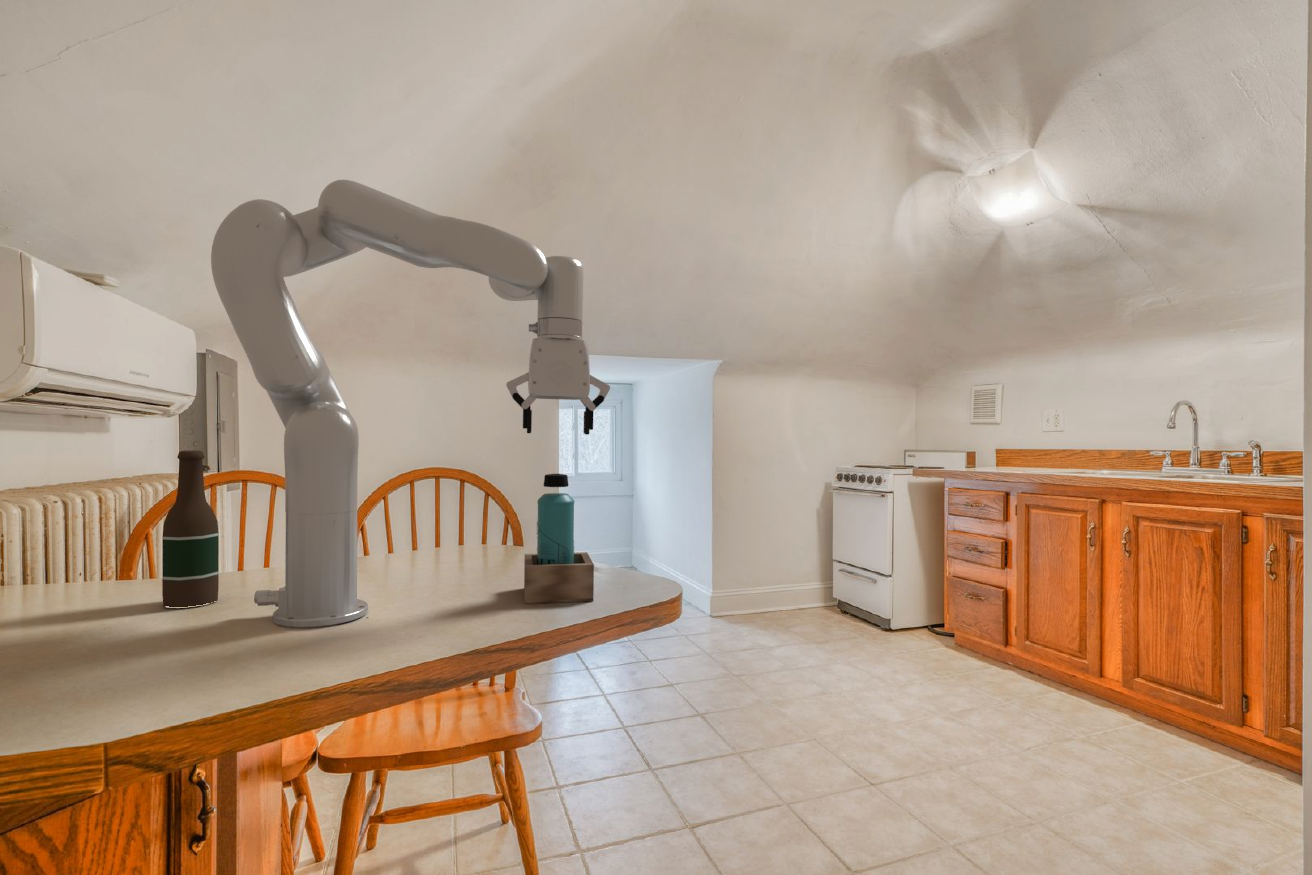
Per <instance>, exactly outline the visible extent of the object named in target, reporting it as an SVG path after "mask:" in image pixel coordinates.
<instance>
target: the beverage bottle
mask: <svg viewBox="0 0 1312 875" xmlns="http://www.w3.org/2000/svg"><path fill="white" fill-rule="evenodd" d="M543 487H546V488H566V487H569V477H568V475H567V474H564V473H547V474H544V478H543ZM536 518H537V521H536V527H537V530H536V535H537V536H536V539H537V545H536V546H537V547H536V550H535V552H537V553H536V554H537V561H536V565H548V564H574V560H575V559H574V556H575V555H574V553H576V551H575V540H574V538H575V536H574V534H575V533H574V532H575V530H574V528H575V522H574V520H575V499H574V498H573V497H572V496H571V495H570V494H569V493H563V492H552V493H551V492H549V493H544V494H542V495H540V497H539V498H538V500H537V517H536Z"/></svg>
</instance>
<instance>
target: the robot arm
mask: <svg viewBox="0 0 1312 875" xmlns="http://www.w3.org/2000/svg"><path fill="white" fill-rule="evenodd" d="M365 248H368V249H371V250H373V251H377V252H379V253H382V254H385V255H387V256H390V257H392V258H395V259H397V260H400V261H403V262H405V263H409V264H411V265H413V266H415V267H419V268H423V269H425V268H426V269H443V268H452V269H453V268H455V269H461V270H467V271H470V272H475V273H477V274H480V275H484V276H485V277H488V282H489V284H488V285H489V287H490V289H491V290H492V291H493V293H494V294H495V295H496V296H498V297H499V298H501V299H503V300H506V301H511V302H523V301H525V302H526V301H537V321H536V322H535V323H528V333H532V334H535V335H536V337H534V338H532V342H531V346H530V353H529V362H528V372H526V373H524V374H522V375H519V376H518V377H516V378H513V379H511V380H509V381H508V382H506V388H507V390H508V391H509V394H510V395H511V397H512V399H513V401H515V403H517V405H518V406H519V407H520V408H521V409H522V429H525V430H526V434H532V424H533V423H532V421H533V420H532V417H533V412H532V411H533V410H532V409H531V406H532V404H533V403H534V402H535V401H536V400H537V399H539V400H540V399H541V400H565V401H566V400H567V401H569V400H571V401H573V400H575V401H577V400H579V401H580V403H582V404H583V406H584V407H585V408H584V409H585V410H584V412H583V434H584V435H590V431H593V430H594V411H595V410H596V409H597V408H598V407H599V406H600V405H601V404H602V403H603V402H604V401H605V399H606V397H607V395H608V394H609V392H610V389H611V386H610V385H609V384H608V383H606V382H604V381H603V380H600V379H598V378H596V377H595V376H593V375H591V373H590V354H589V348H588V346H589V345H588V341H587V340H584V339H583V309H584V308H583V306H584V305H583V303H584V302H583V299H584V267H583V264H582V263H581V261H580V260H578V259H576V258H574V257H569V256H564V255H553V256H552V255H551V256H546V257H545V254H544V253H543V252H542V251H541V250H540V249H539V247H537V246H535V245H534V244H532V243H531V242H529V241H527V240H525V239H523V238H521V237H519V236H516V235H514V234H511V233H509V232H507V231H504V230H502V229H499V228H496V227H494V226H491V225H487V224H484V223H480V222H477V221H476V222H475V221H472V220H471V221H470V220H465V219H461V218H456V217H454V216H453V217H452V216H449V215H448V216H447V215H446V216H445V215H443V214H442V215H441V214H438V213H435V212H431V211H429V210H428V209H424V208H422V207H419V206H416V205H414V204H412V203H409V202H407V201H405V200H402V199H400V198H397V197H396V196H395V197H394V196H392V195H390V194H387V193H385V192H382V191H380V190H378V189H375V188H373V187H370V186H367V185H365V184H362V183H360V182H357V181H354V180H349V179H337V180H334V181H332V182H330V183H328V184H327V185H326V186H325V187H324V188H323V190H322V192H321V193H320V195H319V199H318V201H317V206H316V207H314V208H312V209H308V210H305V211H303V212H299V213H296V214H293V213H291V212H290V211H289V210H288V209H287V208H286V207H284V206H283V205H281V204H280V203H278V202H275V201H271V200H267V199H258V198H257V199H252V200H248V201H245V202H243V203H242V204H239V205H238V206H237V207H235V208H234V209H232V210H231V211H230V212H229V213H228V214H227V215H226V217H225V218H224V219H223V220H222V222H220V225H219V226H218V228H217V230H216V233H215V234H214V237H213V241H212V246H211V253H210V254H211V255H210V265H211V267H210V268H211V274H212V278H213V282H214V286H215V288H216V291H217V294H218V296H219V298H220V300H221V303H222V305H223V308H224V309H225V312H226V314H227V316H228V318H229V320H230V322H231V325H232V327H233V329H234V331H235V332H234V333H235V334H236V336H237V338H238V340H239V342H240V345H241V346H242V348H243V351H244V352H245V353H244V354H245V355H246V357H247V359H248V362H249V364H250V366H251V369H252V372H253V375H254V377H255V379H256V381H257V382H258V384H259V385H260V386H261V387H262V388H263V390H265V391H266V393H267V395H268V396H269V398H270V400H271V403H272V405H273V407H274V409H275V411H276V412H277V414H278V417H279V419H280V420H281V422H282V425H283V427H284V428H285V429H284V435H283V456H284V457H283V460H284V479H285V480H284V484H285V485H284V487H285V488H284V489H285V492H284V495H285V496H284V500H285V501H284V505H285V506H284V507H285V509H284V510H285V558H284V559H285V561H284V562H285V566H284V567H285V570H284V571H285V572H284V573H285V580H284V582H285V585H284V586H283V587H279V589H277V590H276V589H275V590H271V589H261V590H260V589H259V590H255V592H254V594H253V595H254V596H253V597H254V598H253V602H254V604H256V605H257V606H259V607H262V606H263V607H265V606H275V607H276V608H277V609H275V610H274V612H272V621H273V623H275V624H276V625H278V624H279V625H278V626H283V627H287V628H288V627H289V628H318V627H326V626H334V625H337V624H343V623H347V622H351V621H355V620H358V619H359V618H362V617H363V616H364V617H365V615H366V614H367V613H368V612H369V604H368V602H366V601H365V600H362V599H359V598H358V469H359V465H358V464H359V460H358V459H359V445H360V444H359V437H360V436H359V428H358V426H357V425H358V424H357V423H356V420H355V419H354V417H353V415H351V413H350V411H349V408H348V406H347V404H346V402H345V400H344V398H343V396H342V394H341V392H340V389H339V387H338V385H337V383H336V382H335V379H334V377H333V375H332V372H331V370H330V368H329V367H328V364H327V362H326V359H325V358H324V355H323V353H322V352H321V350H320V348H318V346H317V345H316V344H315V343H314V341H313V339H312V337H311V335H310V334H309V332H308V330H307V328H306V326H305V324H304V322H303V319H302V317H301V315H300V313H299V312H298V309H297V307H296V304H295V302H294V300H293V298H292V295H291V293H290V291H289V289H288V287H287V284H286V281H285V278H286V277H287V278H288V277H292V276H296V275H299V274H302V273H305V272H307V271H311V270H313V269H315V268H319V267H322V266H325V265H327V264H330V263H332V262H335V261H338V260H339V261H340V260H341V259H343V258H344V259H345V258H346V257H349V256H352V255H354V254H356V253H358V252H360V251H363V250H365ZM525 383H527V387H528V388H527V390H528V394H529V395H528V396H527V397H526V398H525V399H524V397H522V395H521V394H519V391H518V390H517V387H518V386H521V385H523V384H525ZM591 385H592V386H593V387H595V388H597V389H598V390H599V392H598V395H597V396H596V397H595V398H594V399H593V400H592V399H591V398H590V397H589V396H590V390H591V388H590V387H591Z"/></svg>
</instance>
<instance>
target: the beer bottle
mask: <svg viewBox="0 0 1312 875" xmlns="http://www.w3.org/2000/svg"><path fill="white" fill-rule="evenodd" d="M176 458H177V459H178V460H179V462H178V464H179V465H178V466H179V467H178V478H177V480H178V481H177V490H176V491H177V492H176V497H175V502H174V504H173V505H172V506H171V508H170V509H169V510H168V512H167V513H166V514H167V515H166V517H165V519H164V521H163V527H162V538H161V539H162V541H161V544H162V546H161V547H162V550H161V551H162V554H161V555H162V559H161V560H162V561H161V562H162V575H161V576H162V584H161V585H162V586H161V588H162V590H161V591H162V595H161V596H162V606H169V607H188V606H196V605H203V604H206V603H211V602H214V601H217V602H218V600H219V584H220V583H219V578H220V577H219V566H220V565H219V555H220V554H219V552H220V551H219V550H220V549H219V548H220V546H219V542H220V540H219V538H220V536H219V534H220V533H219V521H218V519H217V516H216V514H215V511H214V509H213V508H212V507H211V506H210V504H209V503H208V501H207V497H206V492H205V491H206V490H205V478H204V466H203V465H204V462H203V461H204V460H203V459H205V458H206V457H205V454H204V451H202V450H181V451H179V452H178V454H177V457H176Z"/></svg>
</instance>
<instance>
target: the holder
mask: <svg viewBox="0 0 1312 875" xmlns="http://www.w3.org/2000/svg"><path fill="white" fill-rule="evenodd" d="M574 555H575V556H574V559H575V560H574V564H548V565H536V561H537V553H524V561H523V562H524V563H523V564H524V569H523V570H524V572H523V573H524V574H523V576H524V577H523V578H524V580H523V581H524V582H523V583H524V585H523V588H524V589H523V590H524V594H523V596H524V605H533V604H534V605H535V603H538V604H554V603H555V604H560V603H559V602H563V603H579V602H578V601H589V602H594V594H595V593H594V592H595V591H594V589H595V588H594V587H595V586H594V584H595V582H594V581H595V580H594V579H595V578H594V577H595V574H594V573H595V570H594V569H595V565H594V564H595V563H594V562H593V560H592V559H591V557H590V555H589V553H588V552H585V551H584V552H575V553H574Z"/></svg>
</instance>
